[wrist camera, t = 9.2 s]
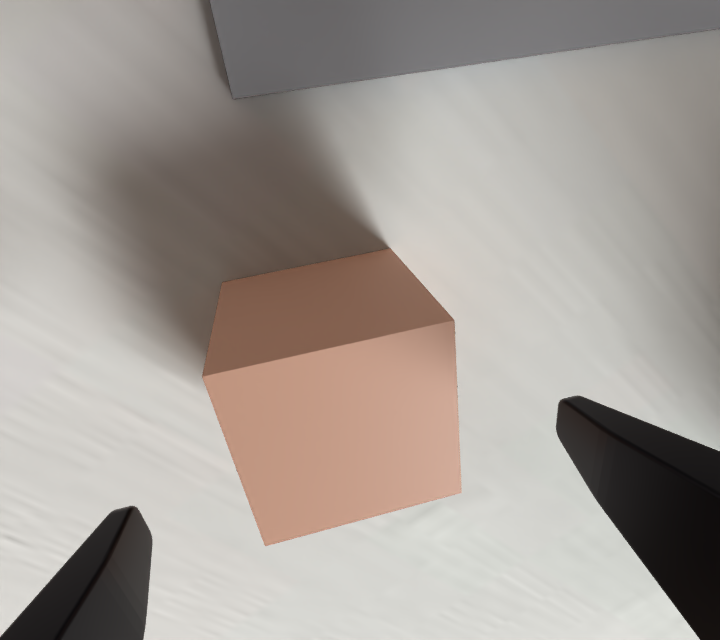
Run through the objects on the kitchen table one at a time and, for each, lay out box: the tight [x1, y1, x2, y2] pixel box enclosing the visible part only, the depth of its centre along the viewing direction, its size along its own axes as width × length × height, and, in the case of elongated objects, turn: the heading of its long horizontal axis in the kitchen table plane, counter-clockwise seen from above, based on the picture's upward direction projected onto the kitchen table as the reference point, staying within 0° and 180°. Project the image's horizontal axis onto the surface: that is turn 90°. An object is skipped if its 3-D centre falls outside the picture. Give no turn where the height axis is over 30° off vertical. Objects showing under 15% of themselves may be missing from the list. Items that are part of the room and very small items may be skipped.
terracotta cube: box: [202, 248, 461, 546], centre depth 12 cm, size 5×5×5 cm
